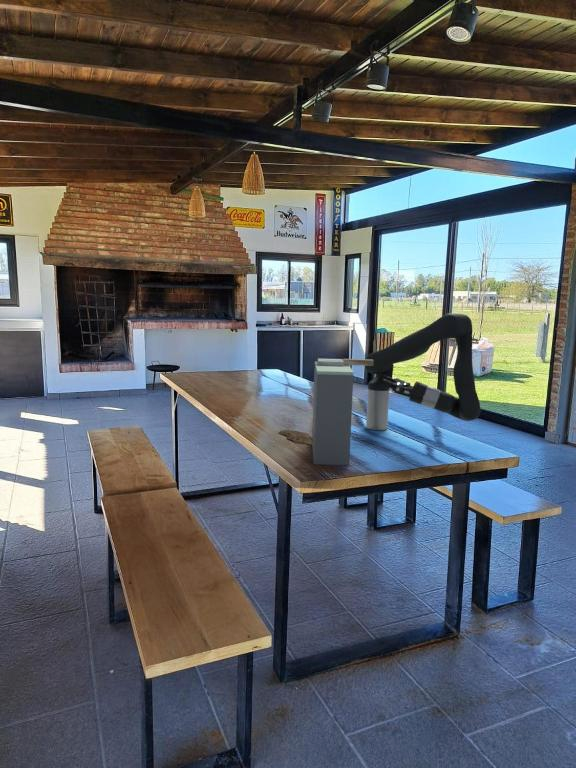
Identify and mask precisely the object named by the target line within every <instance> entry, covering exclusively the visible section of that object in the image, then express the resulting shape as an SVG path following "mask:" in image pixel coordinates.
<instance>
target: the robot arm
mask: <svg viewBox="0 0 576 768" xmlns="http://www.w3.org/2000/svg"><path fill="white" fill-rule="evenodd" d="M448 339H452V340H453V339H455V342H456V349H457V351H456V359H455V361H454V365H453V374H452V375H453V381H454V389H455V393H456V395H458V398H457V397H455V396H454V395H452V394H451V393H449V392H445V391H443V390H440V389H438V388H436V387H435V386H430V385H428V384H425V383H422V382H419V381H415V383H414V384H413V385H411V383H410V382H408V381H404V380H402V379H399V378H397V377H396V378H393V373H394V364H398V363H403V362H406V361H407V362H408V361H410V360H413V359H415V358H418V357H420V356H422V355H424V354H425V353H427V352H428V351H429V350H430V348H431V347H432V346H433V345H434V344H436V343H438V342H441V341H444V340H448ZM365 359H367V360H374V362H373V366H364V369H365V371H367V372H368V373H369V374H373V375H375V376H374V378H373V379H372V380H370V381H369V382H368V385H367V401H366V421H365V423H366V424H365V427H366V429H368V430H373V431H385V430H387V429H388V425H389V424H388V421H389V405H390V390H391V391H392V392H394V393H399V394H401V395H403V396H406V397H409V399H408V400H409V402H412V403H415V404H418V405H420V406H423V407H426V408H429V409H430V408H431V409H434V410H436V411H439V412H442V413H446V414H448V415H450V416H452V417H455V418H456V419H459V420H462V421H464V422H470V421H474V420H476V419H477V418H479V417H480V415H481V403H480V400H479V397H478V393H477V390H476V382H475V374H474V366H473V322H472V320H471V318H470V317H469V316H468V315H467V314H464V313H455V312H448V313H446V314H444V315H442V316H440V317H439V318H437V319H436V320H435V321H433V322H432V323H429V324H428V325H426V326H425V327H423V328H421V329H418V330H417V331H415V332H413V333H410V334H409V335H407V336H404V337H402V338H401V339H400V340H398V341H395V342H394V343H392V344H390V345H389V346H387V347H384V348H383V349H379V350H376V351H375V352H371V353H369V354H368V355H367V356H366V358H365Z"/></svg>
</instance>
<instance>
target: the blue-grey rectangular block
mask: <svg viewBox="0 0 576 768" xmlns="http://www.w3.org/2000/svg"><path fill="white" fill-rule="evenodd" d="M313 370H314V374H313V375H314V376H313V377H314V378H313V403H312V433H311V435H312V437H311V438H312V445H311V446H312V447H311V448H312V456H313V459H312V460H313V465H329V466H330V465H331V466H332V465H333V466H335V465H336V466H350V458H351V456H350V455H351V454H350V453H351V437H352V435H351V433H352V432H351V431H352V412H353V411H352V410H353V409H352V408H353V394H354V393H353V390H354V389H353V388H354V371H353V369H352V368H351V367H350V365H344V366H325V365H318V361H314V369H313Z"/></svg>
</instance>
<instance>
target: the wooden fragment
mask: <svg viewBox="0 0 576 768" xmlns="http://www.w3.org/2000/svg"><path fill="white" fill-rule="evenodd" d="M277 434H280V435H283V436H284V437H286V439H288V440H290V441H293V442H294V443H295V444H302V445H309V446H312V437H311V435H310V434H309V433H306V432H302V431H297V430H293V429H290V428H286V429H283V430H280V431H278V432H277Z"/></svg>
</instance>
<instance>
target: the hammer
mask: <svg viewBox="0 0 576 768" xmlns="http://www.w3.org/2000/svg"><path fill="white" fill-rule="evenodd" d="M317 362H318V365H325V366H344V365H349V366H364V367H365V366H373V362H374V360H367V359H366V358H365V359H362V358H361V359H359V358H358V359H357V358H355V359H354V358H317Z"/></svg>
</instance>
